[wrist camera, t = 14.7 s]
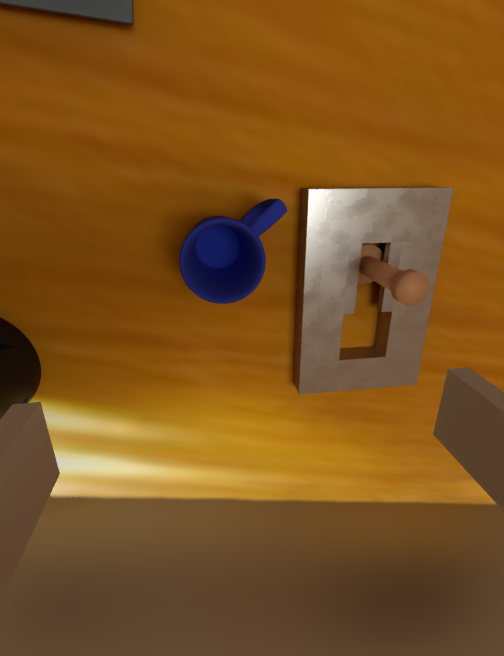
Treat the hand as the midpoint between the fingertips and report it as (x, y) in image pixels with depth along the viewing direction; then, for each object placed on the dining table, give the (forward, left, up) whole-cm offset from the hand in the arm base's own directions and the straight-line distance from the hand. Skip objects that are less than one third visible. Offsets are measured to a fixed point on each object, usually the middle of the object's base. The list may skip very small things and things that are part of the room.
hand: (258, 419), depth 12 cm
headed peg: (+19, -3, -35) cm, 40 cm away
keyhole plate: (+19, -7, -35) cm, 40 cm away
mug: (+2, +1, -35) cm, 35 cm away
